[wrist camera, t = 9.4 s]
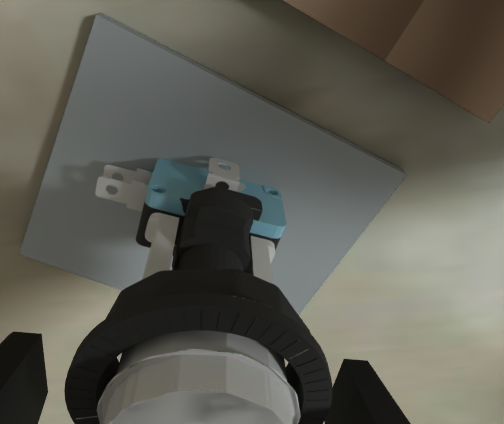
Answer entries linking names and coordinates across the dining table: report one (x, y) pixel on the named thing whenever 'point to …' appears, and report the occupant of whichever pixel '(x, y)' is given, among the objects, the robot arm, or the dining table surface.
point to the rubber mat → (193, 164)
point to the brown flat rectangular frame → (429, 42)
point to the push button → (200, 312)
